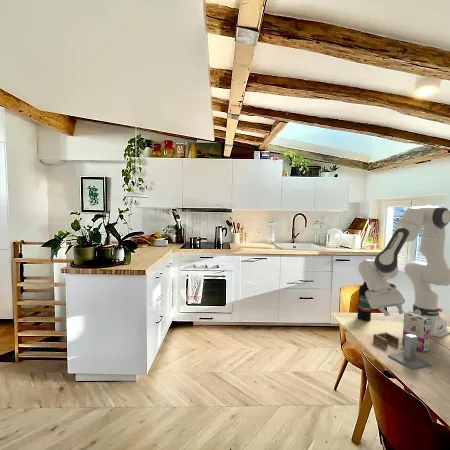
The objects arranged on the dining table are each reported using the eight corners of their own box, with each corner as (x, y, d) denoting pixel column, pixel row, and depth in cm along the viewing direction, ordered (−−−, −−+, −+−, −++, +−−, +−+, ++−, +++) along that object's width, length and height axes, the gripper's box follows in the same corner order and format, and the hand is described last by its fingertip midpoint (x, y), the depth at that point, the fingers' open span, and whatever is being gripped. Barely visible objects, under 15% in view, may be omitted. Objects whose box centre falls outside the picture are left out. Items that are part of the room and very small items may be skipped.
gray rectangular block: (409, 356, 140) (411, 333, 139) (415, 359, 137) (417, 336, 136) (403, 358, 139) (405, 334, 138) (409, 361, 136) (411, 337, 135)
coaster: (406, 352, 146) (406, 350, 146) (431, 365, 134) (431, 363, 134) (388, 356, 141) (388, 354, 141) (412, 369, 130) (412, 368, 130)
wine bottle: (371, 318, 189) (374, 271, 187) (369, 322, 183) (372, 273, 180) (358, 315, 193) (361, 269, 191) (356, 319, 187) (359, 271, 185)
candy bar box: (429, 351, 148) (432, 318, 147) (423, 352, 146) (425, 319, 145) (408, 341, 158) (410, 310, 157) (401, 342, 156) (403, 311, 155)
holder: (385, 339, 159) (386, 332, 159) (398, 345, 152) (398, 338, 152) (373, 341, 156) (373, 334, 156) (385, 348, 149) (385, 340, 149)
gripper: (367, 287, 147) (383, 314, 139) (397, 284, 155) (414, 309, 146) (359, 293, 152) (374, 320, 143) (389, 290, 159) (405, 315, 151)
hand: (395, 314), depth 145 cm, fingers open, 8 cm apart
